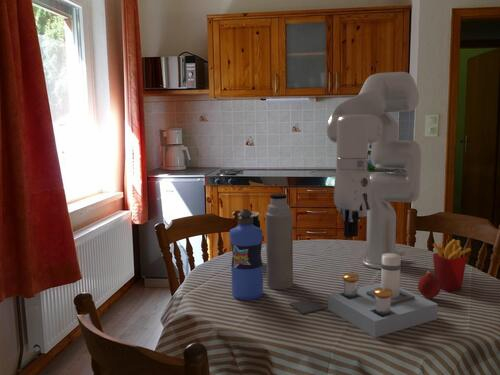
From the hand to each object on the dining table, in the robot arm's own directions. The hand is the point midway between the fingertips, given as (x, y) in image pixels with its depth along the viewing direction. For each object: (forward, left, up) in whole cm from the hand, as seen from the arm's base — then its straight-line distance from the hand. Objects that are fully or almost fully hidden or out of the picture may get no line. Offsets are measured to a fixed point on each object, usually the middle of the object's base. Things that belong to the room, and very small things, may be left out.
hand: (350, 236), depth 115 cm
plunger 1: (0, 0, -18) cm, 18 cm away
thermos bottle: (+7, -25, -20) cm, 33 cm away
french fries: (-35, +3, -20) cm, 41 cm away
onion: (-23, +5, -20) cm, 31 cm away
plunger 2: (0, +12, -17) cm, 21 cm away
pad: (+9, -7, -20) cm, 23 cm away
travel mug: (+6, -48, -20) cm, 52 cm away
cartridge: (-8, +6, -20) cm, 22 cm away
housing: (-5, +6, -20) cm, 21 cm away
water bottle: (+19, -23, -20) cm, 36 cm away
